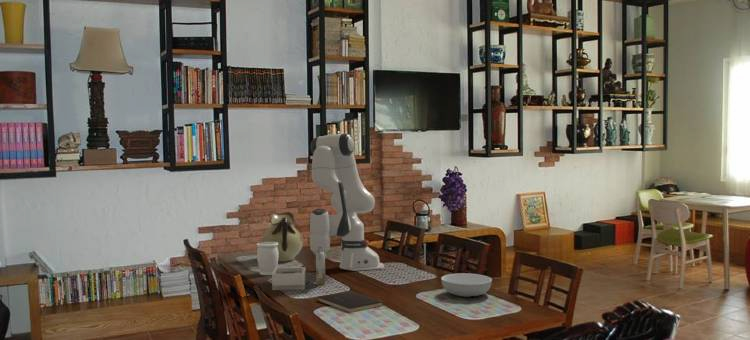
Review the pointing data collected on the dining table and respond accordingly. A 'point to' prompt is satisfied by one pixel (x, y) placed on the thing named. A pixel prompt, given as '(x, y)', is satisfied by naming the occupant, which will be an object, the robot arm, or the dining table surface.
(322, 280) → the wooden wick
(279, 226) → the beige rounded piece
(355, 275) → the dining table surface
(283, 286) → the white square box
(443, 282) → the serving bowl
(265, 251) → the jar
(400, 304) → the dining table surface
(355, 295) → the hardcover book
